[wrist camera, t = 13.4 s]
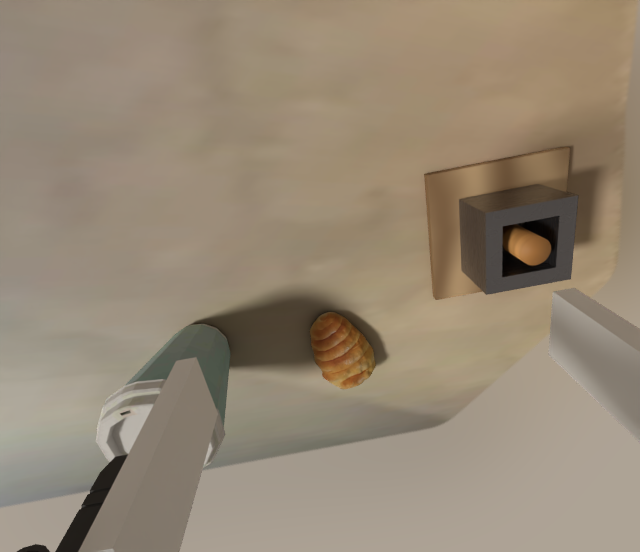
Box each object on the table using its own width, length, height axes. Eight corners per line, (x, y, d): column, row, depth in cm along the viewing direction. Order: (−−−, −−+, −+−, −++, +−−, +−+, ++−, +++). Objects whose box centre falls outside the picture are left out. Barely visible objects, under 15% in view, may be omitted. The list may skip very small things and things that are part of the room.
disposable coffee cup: (260, 365, 46) (242, 473, 32) (182, 393, 47) (132, 508, 33) (220, 293, 42) (180, 381, 28) (136, 325, 43) (57, 424, 29)
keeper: (433, 296, 43) (460, 332, 36) (424, 174, 38) (454, 187, 30) (554, 273, 43) (606, 306, 35) (563, 146, 37) (627, 154, 30)
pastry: (295, 324, 44) (295, 341, 41) (346, 299, 43) (350, 315, 40) (331, 380, 48) (333, 400, 44) (379, 358, 47) (385, 377, 43)
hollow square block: (461, 270, 41) (486, 294, 35) (458, 199, 38) (485, 213, 32) (534, 257, 41) (570, 279, 35) (537, 183, 38) (578, 195, 32)
